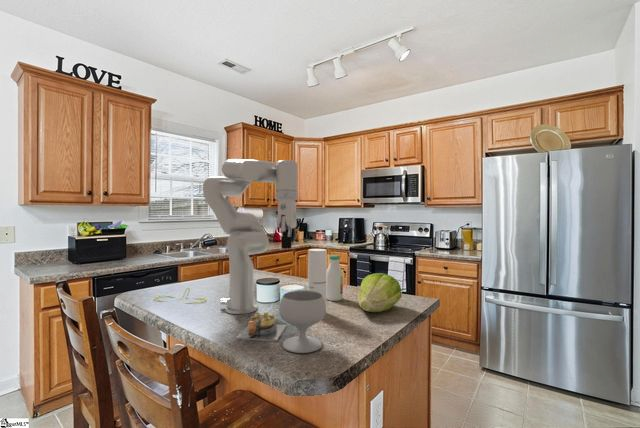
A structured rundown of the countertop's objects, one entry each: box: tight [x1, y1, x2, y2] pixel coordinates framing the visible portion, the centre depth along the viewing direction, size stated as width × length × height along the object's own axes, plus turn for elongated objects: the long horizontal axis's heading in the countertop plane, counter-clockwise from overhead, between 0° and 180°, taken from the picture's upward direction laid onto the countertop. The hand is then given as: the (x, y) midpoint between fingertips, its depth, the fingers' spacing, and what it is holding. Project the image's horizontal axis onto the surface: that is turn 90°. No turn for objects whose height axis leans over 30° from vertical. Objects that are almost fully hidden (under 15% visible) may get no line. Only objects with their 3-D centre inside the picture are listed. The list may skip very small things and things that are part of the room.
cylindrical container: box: [307, 248, 328, 305], centre depth 127 cm, size 7×7×25 cm
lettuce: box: [357, 272, 402, 313], centre depth 130 cm, size 17×24×14 cm
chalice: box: [278, 290, 327, 354], centre depth 96 cm, size 14×14×15 cm
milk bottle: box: [326, 254, 344, 302], centre depth 148 cm, size 8×8×20 cm
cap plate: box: [235, 322, 287, 343], centre depth 106 cm, size 13×13×2 cm
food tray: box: [247, 312, 275, 336], centre depth 103 cm, size 14×8×4 cm, turn 168°
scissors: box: [153, 287, 208, 304], centre depth 145 cm, size 25×10×5 cm, turn 78°
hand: (286, 248), depth 113 cm, fingers closed
